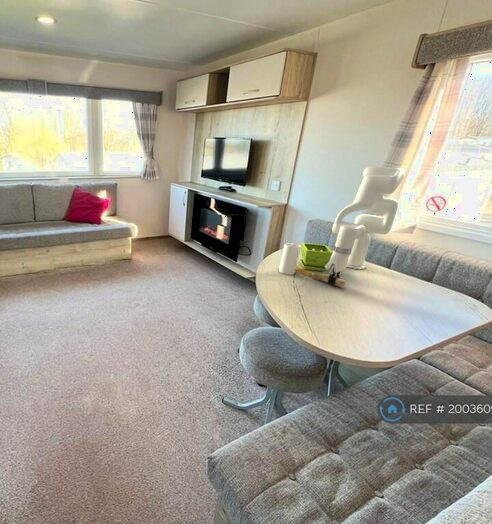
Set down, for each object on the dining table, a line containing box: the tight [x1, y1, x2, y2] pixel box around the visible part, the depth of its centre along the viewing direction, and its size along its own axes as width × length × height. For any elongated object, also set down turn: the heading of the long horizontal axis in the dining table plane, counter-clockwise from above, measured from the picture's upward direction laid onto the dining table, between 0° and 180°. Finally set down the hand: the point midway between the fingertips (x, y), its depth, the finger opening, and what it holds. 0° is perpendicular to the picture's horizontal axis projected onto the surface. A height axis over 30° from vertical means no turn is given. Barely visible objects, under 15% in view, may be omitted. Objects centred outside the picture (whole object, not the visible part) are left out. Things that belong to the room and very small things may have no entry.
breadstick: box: [295, 265, 313, 277], centre depth 176 cm, size 10×2×2 cm, turn 32°
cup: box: [278, 242, 302, 276], centre depth 173 cm, size 8×8×16 cm
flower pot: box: [299, 242, 333, 272], centre depth 182 cm, size 14×14×13 cm
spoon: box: [313, 271, 347, 289], centre depth 163 cm, size 16×5×4 cm, turn 32°
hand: (332, 282), depth 162 cm, fingers closed on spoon, 2 cm apart
